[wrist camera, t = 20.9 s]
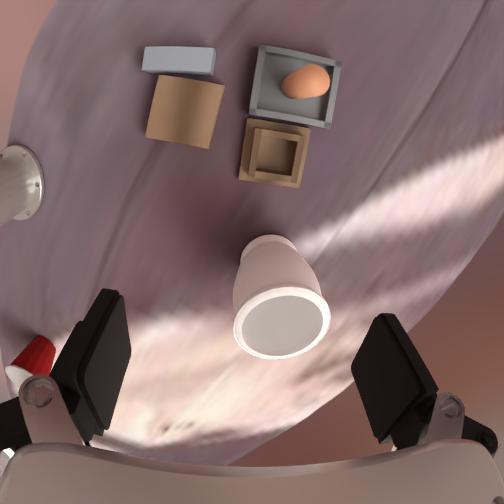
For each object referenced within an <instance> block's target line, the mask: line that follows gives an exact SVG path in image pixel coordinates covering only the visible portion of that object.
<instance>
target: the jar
mask: <svg viewBox="0 0 504 504" xmlns="http://www.w3.org/2000/svg"><path fill="white" fill-rule="evenodd" d="M233 307H234V312H235V317H234V322H233V330H234V335H235V338H236V341H237V342H238V344H239V345H240V346H241V347H242V348H243V349H244V350H245V351H246V352H248V353H249V354H251V355H254V356H256V357H259V358H263V359H270V360H280V359H287V358H292V357H295V356H298V355H301V354H303V353H305V352H307V351H309V350H310V349H312V348H313V347H314V346H316V345H317V344H318V343H319V342H320V341H321V340H322V339H323V337H324V336H325V334H326V333H327V331H328V329H329V326H330V321H331V314H330V310H329V307H328V305H327V303H326V301H325V300H324V298H323V297H322V296H321V291H320V287H319V283H318V281H317V278H316V276H315V274H314V272H313V270H312V269H311V267H310V266H309V265H308V263H307V262H306V261H305V260H304V259H303V257H302V256H301V255H300V254H299V253H298V252H297V250H296V248H295V246H294V245H293V244H292V243H291V242H290V241H289V240H288V239H286V238H285V237H282V236H279V235H264V236H260V237H258V238H256V239H254V240H252V241H251V242H250V243H249V244H248V245H247V246H246V247H245V249H244V250H243V252H242V255H241V260H240V266H239V269H238V273H237V276H236V279H235V283H234V289H233Z"/></svg>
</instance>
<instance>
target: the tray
mask: <svg viewBox="0 0 504 504" xmlns="http://www.w3.org/2000/svg"><path fill="white" fill-rule="evenodd" d="M341 63H342V62H339V61H336V60H332V59H328V58H324V57H321V56H316V55H312V54H308V53H304V52H299V51H294V50H289V49H284V48H279V47H273V46H267V45H261V44H260V45H259V48H258V54H257V59H256V66H255V72H254V78H253V84H252V90H251V97H250V103H249V109H248V114H249V115H256V116H263V117H269V118H276V119H282V120H287V121H293V122H298V123H303V124H308V125H313V126H318V127H322V128H327V129H330V127H331V122H332V116H333V111H334V105H335V100H336V94H337V88H338V82H339V76H340V70H341ZM309 64H315V65H318V66H320V67H322V68H323V69H324V70H325V71H326V72H327V73H328V75H329V78H330V85H329V88H328V90H327V91H326V92H325V93H324V94H323V95H320V96H316V97H307V98H299V99H290V98H288V97H286V96H285V95H284V94H283V93H282V91H281V82H282V80H283V79H284V78H285V77H286V76H288V75H290V74H291V73H293V72H295V71H296V70H298V69H300V68H301V67H303V66H305V65H309Z"/></svg>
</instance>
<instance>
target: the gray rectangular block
mask: <svg viewBox="0 0 504 504" xmlns="http://www.w3.org/2000/svg"><path fill="white" fill-rule="evenodd" d="M215 59H216V52H215V50H214V48H204V47H178V46H156V47H145V52H144V58H143V64H142V71H145V72H148V73H151V74H189V75H205V76H213V72H214V66H215Z"/></svg>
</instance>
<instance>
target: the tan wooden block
mask: <svg viewBox="0 0 504 504" xmlns="http://www.w3.org/2000/svg"><path fill="white" fill-rule="evenodd" d="M224 91H225V85H220V84H215V83H210V82H204V81H199V80H193V79H187V78H181V77H174V76H167V75H159V77H158V81H157V85H156V89H155V93H154V97H153V102H152V106H151V110H150V115H149V120H148V125H147V130H146V135H145V138H152V139H158V140H164V141H169V142H175V143H180V144H185V145H191V146H196V147H200V148H205V149H209V147H210V145H211V141H212V137H213V133H214V129H215V125H216V121H217V117H218V113H219V109H220V106H221V102H222V98H223V94H224Z"/></svg>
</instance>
